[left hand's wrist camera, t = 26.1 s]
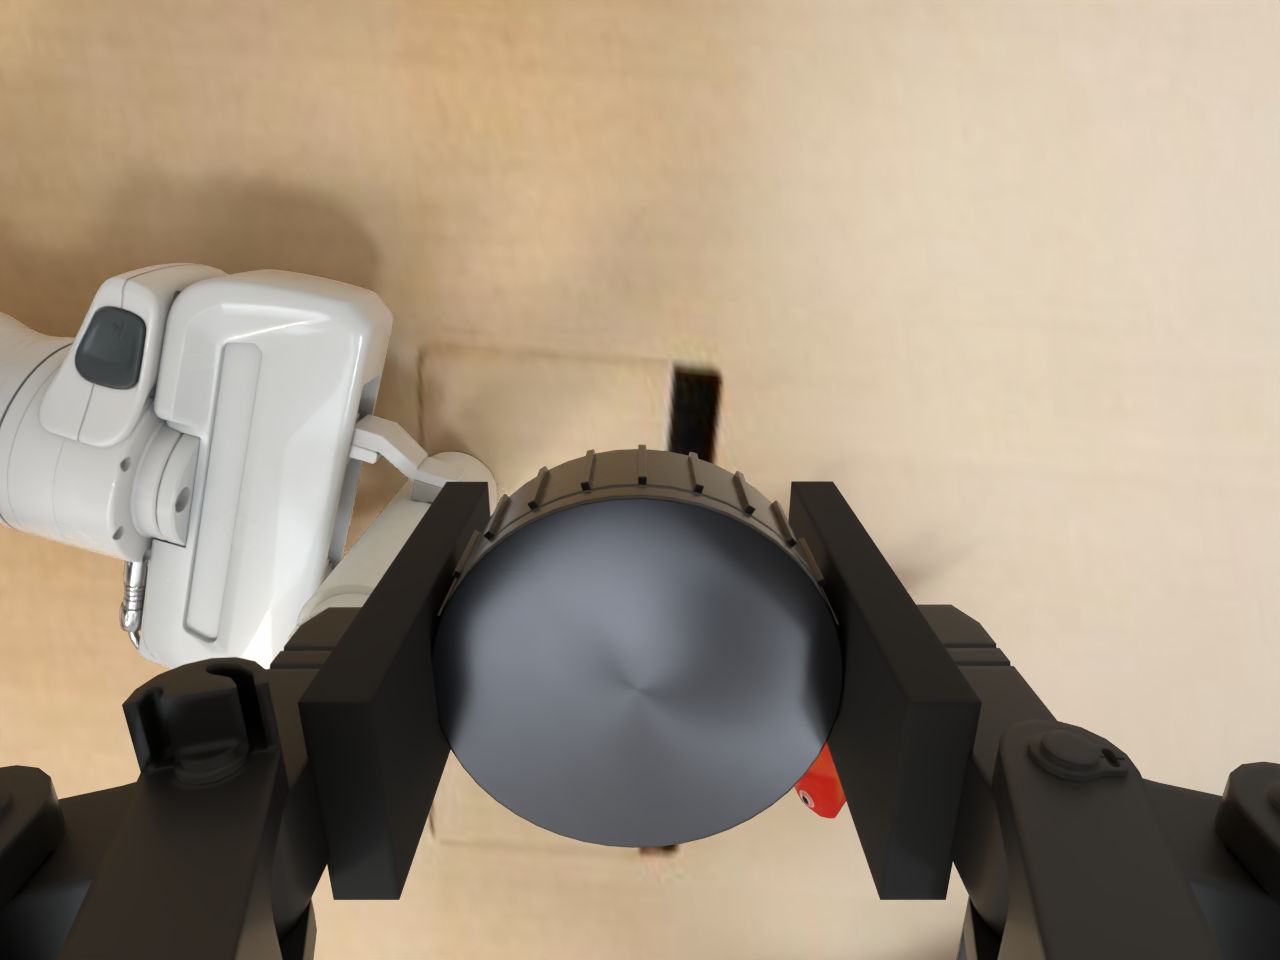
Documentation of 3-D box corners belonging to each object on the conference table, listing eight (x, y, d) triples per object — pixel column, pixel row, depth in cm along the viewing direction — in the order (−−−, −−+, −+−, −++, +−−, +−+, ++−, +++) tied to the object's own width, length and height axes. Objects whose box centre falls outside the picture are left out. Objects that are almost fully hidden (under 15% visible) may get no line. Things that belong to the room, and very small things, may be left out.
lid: (490, 775, 13) (466, 866, 11) (423, 464, 11) (381, 514, 9) (822, 747, 13) (852, 835, 11) (813, 424, 11) (847, 469, 9)
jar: (395, 499, 42) (249, 679, 26) (441, 434, 40) (316, 582, 25) (467, 546, 42) (367, 747, 27) (514, 484, 41) (438, 657, 26)
